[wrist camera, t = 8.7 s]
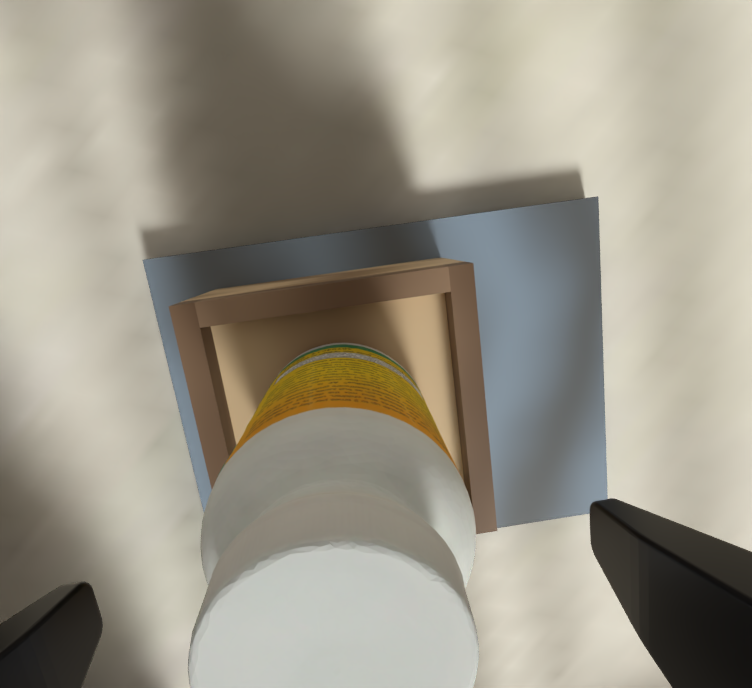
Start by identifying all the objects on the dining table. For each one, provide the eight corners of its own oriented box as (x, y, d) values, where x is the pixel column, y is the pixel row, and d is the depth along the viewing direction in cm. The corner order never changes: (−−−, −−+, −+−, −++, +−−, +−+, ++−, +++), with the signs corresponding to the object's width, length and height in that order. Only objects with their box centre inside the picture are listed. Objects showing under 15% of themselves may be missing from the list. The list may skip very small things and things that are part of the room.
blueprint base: (224, 557, 22) (179, 671, 16) (153, 259, 19) (67, 266, 13) (596, 498, 23) (683, 588, 17) (585, 198, 20) (687, 180, 14)
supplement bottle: (436, 471, 16) (554, 780, 7) (285, 504, 16) (200, 860, 7) (407, 321, 15) (501, 453, 6) (244, 357, 15) (73, 548, 6)
